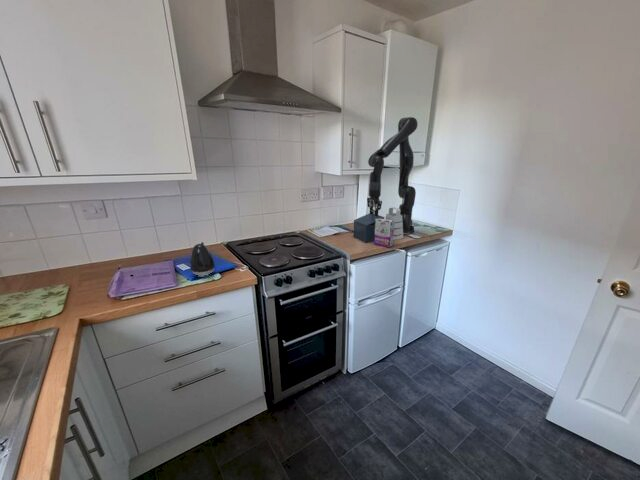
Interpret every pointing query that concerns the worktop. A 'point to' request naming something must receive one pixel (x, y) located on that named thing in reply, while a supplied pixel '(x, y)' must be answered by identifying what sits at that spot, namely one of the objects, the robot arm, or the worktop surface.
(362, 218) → the bin lid
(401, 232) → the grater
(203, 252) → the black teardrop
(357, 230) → the bin
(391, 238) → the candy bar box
